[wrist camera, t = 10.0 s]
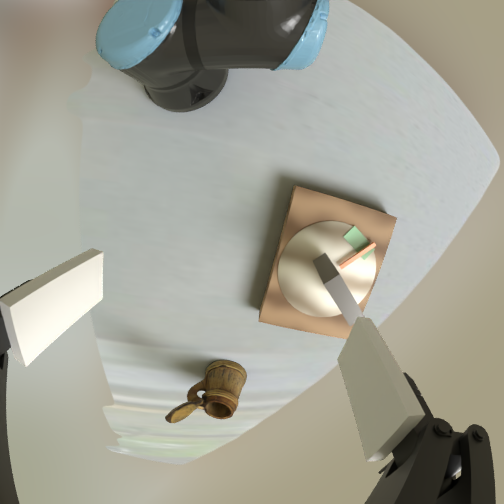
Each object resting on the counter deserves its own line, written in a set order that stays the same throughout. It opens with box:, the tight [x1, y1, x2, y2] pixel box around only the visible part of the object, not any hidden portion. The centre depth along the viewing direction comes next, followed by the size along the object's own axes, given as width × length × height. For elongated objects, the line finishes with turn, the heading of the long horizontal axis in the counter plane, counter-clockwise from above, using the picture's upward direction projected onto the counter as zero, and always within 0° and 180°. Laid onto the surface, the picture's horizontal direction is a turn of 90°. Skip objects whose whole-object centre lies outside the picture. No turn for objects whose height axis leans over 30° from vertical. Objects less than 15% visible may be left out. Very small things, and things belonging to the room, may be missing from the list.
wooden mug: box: [165, 360, 247, 423], centre depth 47 cm, size 9×14×18 cm, turn 68°
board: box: [259, 185, 397, 339], centre depth 45 cm, size 24×18×4 cm
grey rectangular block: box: [313, 242, 376, 326], centre depth 37 cm, size 8×10×11 cm
